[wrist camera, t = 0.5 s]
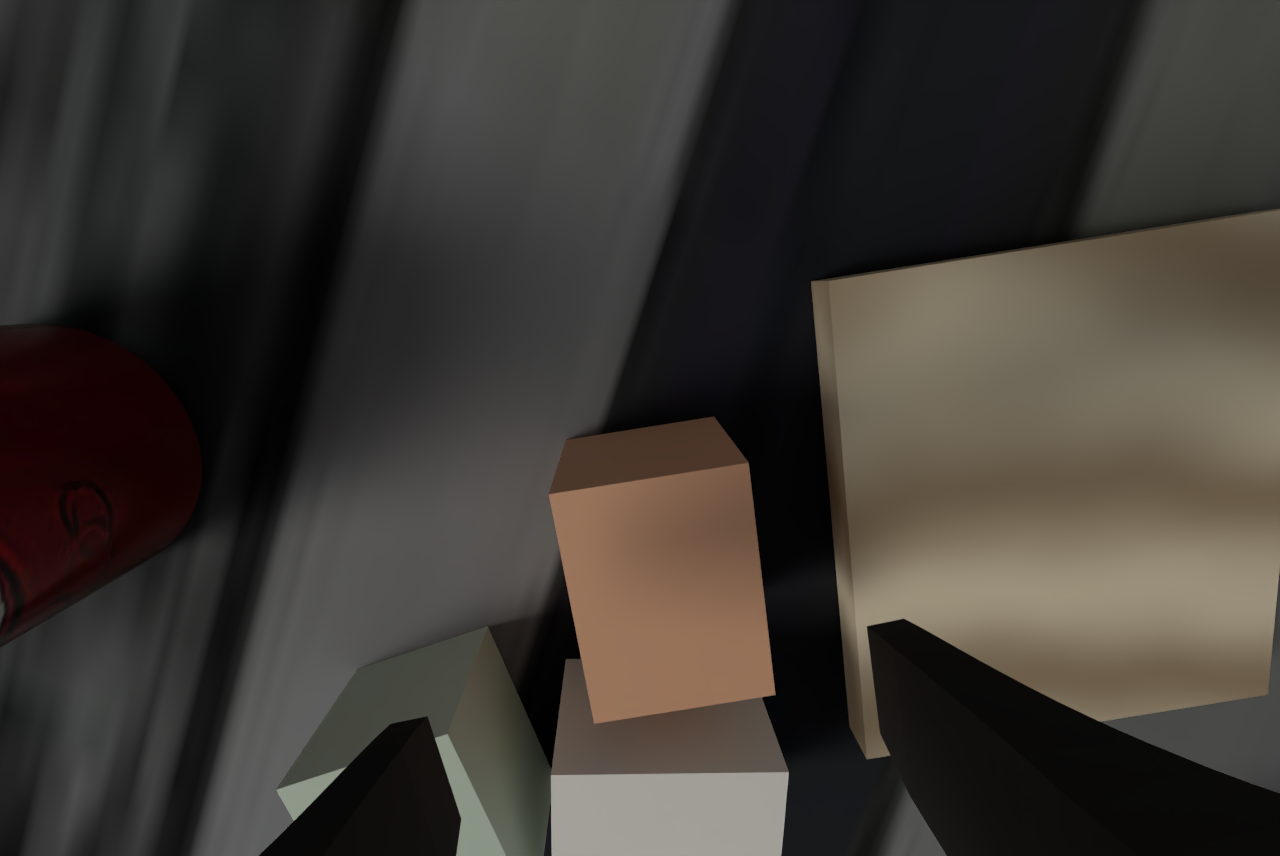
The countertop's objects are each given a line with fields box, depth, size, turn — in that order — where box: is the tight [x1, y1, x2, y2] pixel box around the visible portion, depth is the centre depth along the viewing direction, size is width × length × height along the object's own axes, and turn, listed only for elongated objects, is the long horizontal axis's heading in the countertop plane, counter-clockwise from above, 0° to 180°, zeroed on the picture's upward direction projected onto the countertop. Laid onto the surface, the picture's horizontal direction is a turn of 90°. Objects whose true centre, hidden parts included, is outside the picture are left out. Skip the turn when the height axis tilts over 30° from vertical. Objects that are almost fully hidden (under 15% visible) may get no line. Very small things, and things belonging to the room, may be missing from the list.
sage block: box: [276, 626, 551, 856], centre depth 18 cm, size 6×4×5 cm
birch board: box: [811, 209, 1280, 759], centre depth 19 cm, size 15×13×2 cm
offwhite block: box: [551, 659, 789, 856], centre depth 18 cm, size 6×4×5 cm
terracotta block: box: [549, 417, 775, 724], centre depth 17 cm, size 6×4×5 cm
